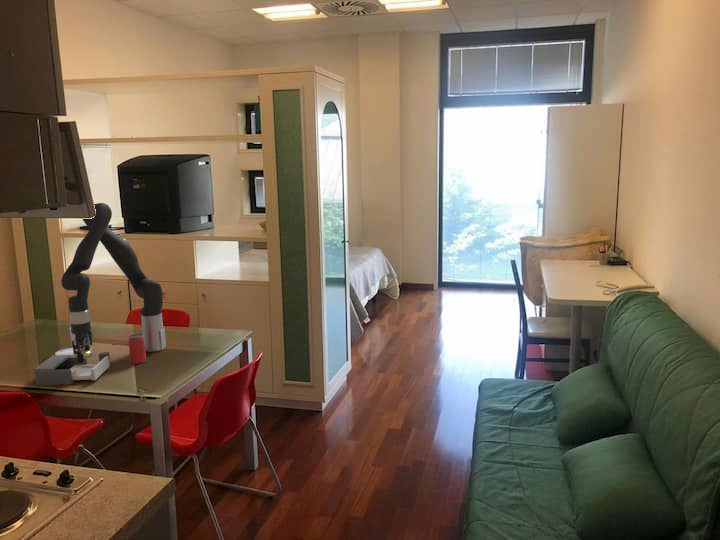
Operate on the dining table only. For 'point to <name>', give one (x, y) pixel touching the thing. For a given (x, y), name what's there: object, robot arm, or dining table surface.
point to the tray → (89, 370)
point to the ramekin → (66, 352)
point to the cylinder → (104, 354)
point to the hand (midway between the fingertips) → (84, 359)
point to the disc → (86, 354)
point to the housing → (56, 370)
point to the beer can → (137, 349)
